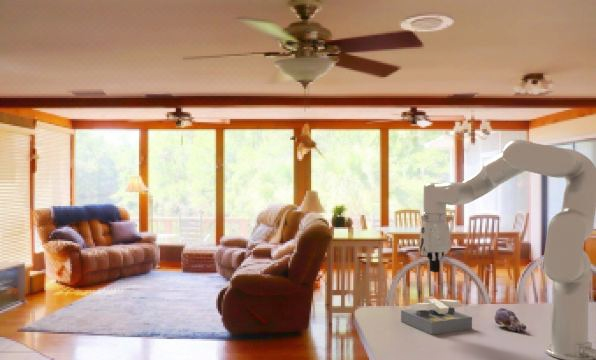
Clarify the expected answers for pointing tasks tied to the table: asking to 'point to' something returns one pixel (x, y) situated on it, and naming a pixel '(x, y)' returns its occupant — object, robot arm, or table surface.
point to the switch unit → (436, 320)
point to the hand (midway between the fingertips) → (434, 271)
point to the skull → (508, 320)
